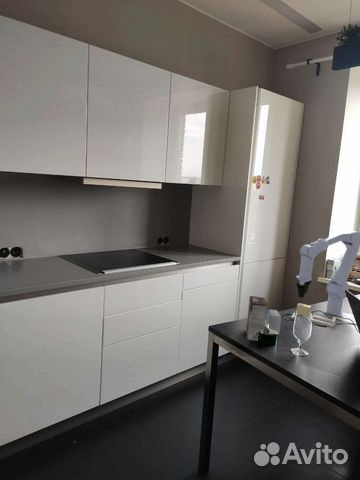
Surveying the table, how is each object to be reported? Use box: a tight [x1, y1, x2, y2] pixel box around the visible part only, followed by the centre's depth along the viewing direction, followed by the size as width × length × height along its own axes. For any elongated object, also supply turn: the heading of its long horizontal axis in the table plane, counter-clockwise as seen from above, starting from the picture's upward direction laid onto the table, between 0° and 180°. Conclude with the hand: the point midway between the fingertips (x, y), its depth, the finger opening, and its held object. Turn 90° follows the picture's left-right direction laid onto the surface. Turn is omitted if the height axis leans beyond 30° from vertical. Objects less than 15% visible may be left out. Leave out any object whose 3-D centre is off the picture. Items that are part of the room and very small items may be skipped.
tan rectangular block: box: [295, 302, 312, 317], centre depth 177 cm, size 3×6×6 cm, turn 60°
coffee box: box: [245, 295, 268, 342], centre depth 151 cm, size 9×6×16 cm
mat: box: [290, 311, 313, 319], centre depth 178 cm, size 9×9×1 cm
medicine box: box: [265, 309, 282, 336], centre depth 158 cm, size 8×4×9 cm, turn 179°
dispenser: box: [310, 314, 337, 328], centre depth 173 cm, size 7×11×3 cm, turn 60°
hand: (302, 295), depth 179 cm, fingers open, 7 cm apart
